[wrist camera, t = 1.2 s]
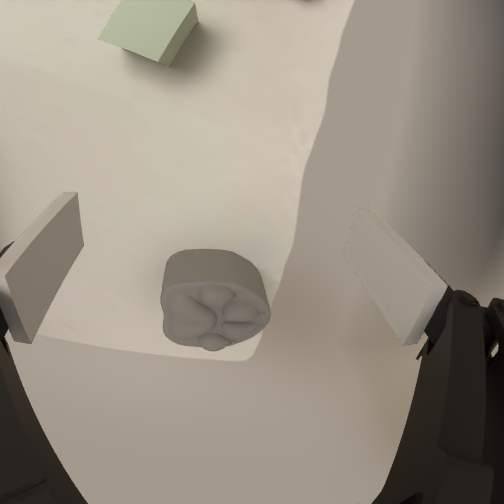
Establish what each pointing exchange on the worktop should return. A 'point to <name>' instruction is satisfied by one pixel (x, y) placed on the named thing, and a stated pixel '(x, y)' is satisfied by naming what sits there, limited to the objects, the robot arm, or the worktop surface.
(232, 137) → the worktop surface
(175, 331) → the lumpy-topped squat cylinder
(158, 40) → the sage block
